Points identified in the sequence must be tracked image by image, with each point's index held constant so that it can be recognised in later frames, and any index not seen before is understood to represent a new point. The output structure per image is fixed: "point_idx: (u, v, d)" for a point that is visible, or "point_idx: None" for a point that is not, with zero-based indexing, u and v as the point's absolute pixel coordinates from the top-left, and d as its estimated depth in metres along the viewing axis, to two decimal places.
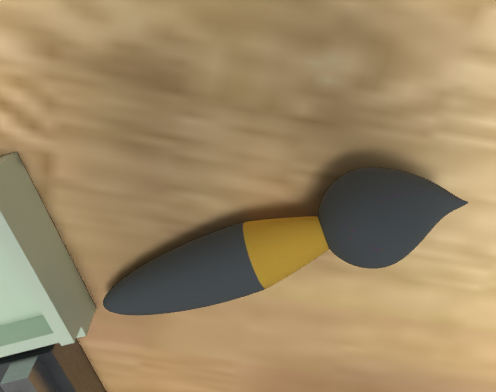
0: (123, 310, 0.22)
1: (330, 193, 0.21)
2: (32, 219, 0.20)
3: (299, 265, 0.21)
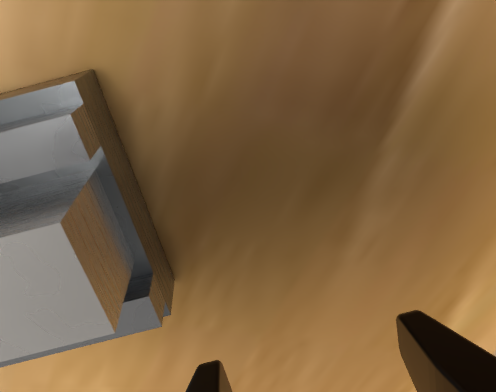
0: None
1: None
2: None
3: None
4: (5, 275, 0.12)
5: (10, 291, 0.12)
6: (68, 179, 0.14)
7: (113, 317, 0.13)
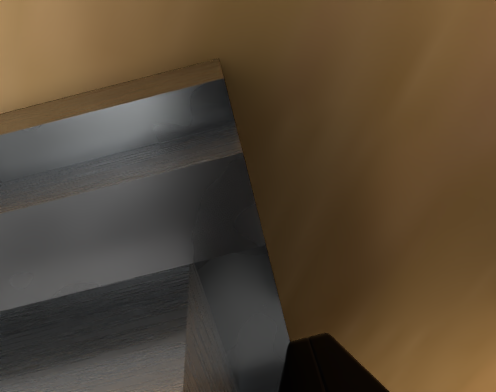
0: None
1: None
2: None
3: None
4: None
5: None
6: (145, 277, 0.08)
7: None
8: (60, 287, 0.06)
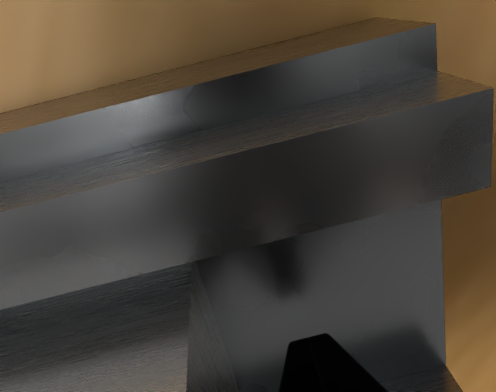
0: None
1: None
2: None
3: None
4: None
5: None
6: (147, 276, 0.08)
7: None
8: (287, 228, 0.06)
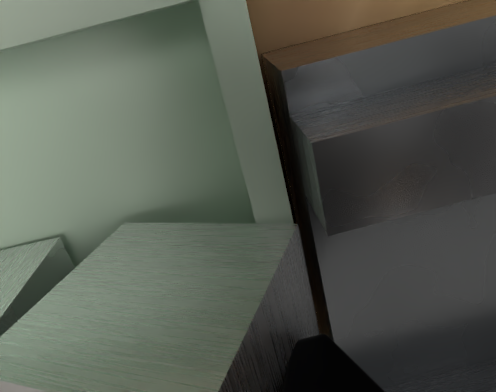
0: None
1: None
2: None
3: None
4: None
5: None
6: (247, 238, 0.08)
7: None
8: None
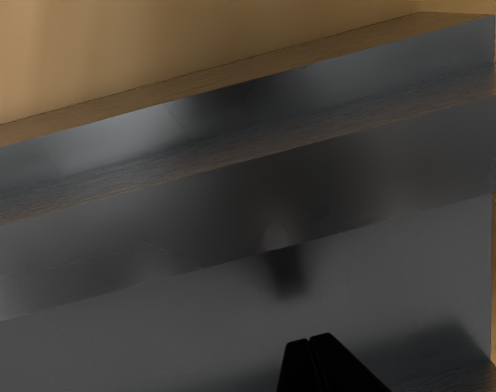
0: None
1: None
2: None
3: None
4: None
5: None
6: None
7: None
8: (353, 220, 0.06)
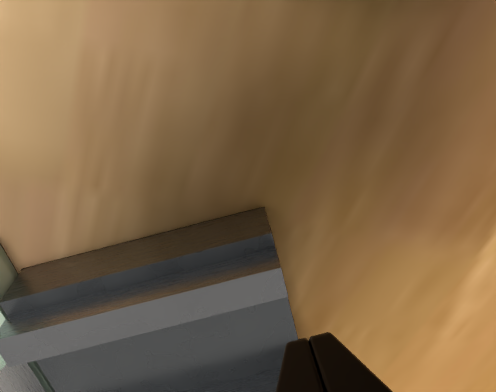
0: None
1: None
2: None
3: None
4: None
5: None
6: None
7: None
8: (214, 312, 0.17)
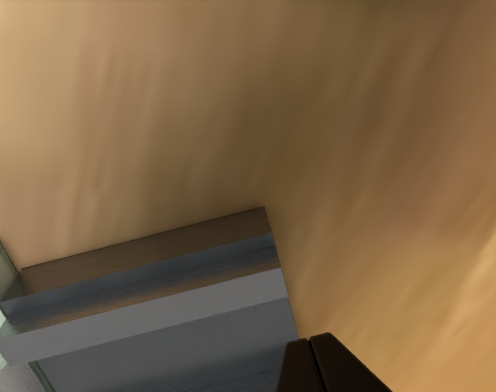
0: None
1: None
2: None
3: None
4: None
5: None
6: None
7: None
8: (214, 312, 0.17)
